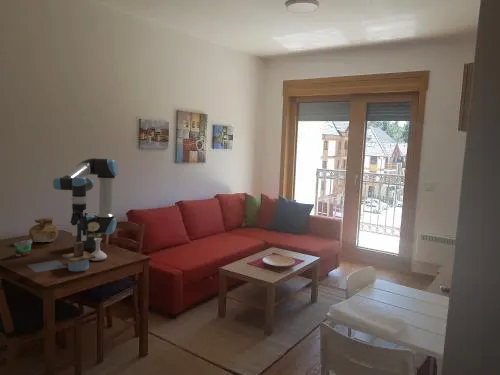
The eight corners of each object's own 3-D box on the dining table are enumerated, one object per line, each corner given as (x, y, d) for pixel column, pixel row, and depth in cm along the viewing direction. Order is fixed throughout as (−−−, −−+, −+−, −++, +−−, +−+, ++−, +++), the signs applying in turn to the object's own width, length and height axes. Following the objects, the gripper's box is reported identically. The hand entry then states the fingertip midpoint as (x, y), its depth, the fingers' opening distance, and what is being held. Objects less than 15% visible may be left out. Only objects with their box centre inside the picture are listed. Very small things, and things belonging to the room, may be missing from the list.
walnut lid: (85, 253, 234) (85, 238, 233) (95, 258, 225) (95, 243, 224) (62, 256, 224) (62, 241, 223) (71, 262, 215) (71, 246, 214)
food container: (22, 258, 239) (22, 243, 238) (14, 257, 240) (13, 242, 239) (36, 253, 251) (36, 238, 250) (28, 252, 252) (28, 238, 251)
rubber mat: (56, 260, 238) (56, 260, 238) (66, 267, 226) (66, 266, 226) (26, 265, 226) (26, 265, 226) (35, 273, 214) (35, 272, 214)
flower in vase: (108, 257, 252) (109, 220, 249) (105, 262, 241) (105, 223, 238) (88, 256, 249) (88, 220, 247) (83, 262, 238) (83, 223, 236)
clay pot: (20, 238, 274) (30, 212, 278) (43, 243, 289) (52, 218, 294) (36, 242, 265) (46, 215, 269) (58, 247, 280) (68, 222, 285)
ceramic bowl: (84, 264, 233) (84, 254, 232) (91, 269, 225) (91, 258, 225) (65, 268, 225) (65, 257, 224) (72, 273, 217) (72, 261, 217)
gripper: (64, 200, 227) (64, 234, 230) (81, 207, 210) (81, 243, 212) (77, 199, 232) (77, 232, 235) (94, 205, 215) (94, 241, 218)
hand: (79, 238), depth 224 cm, fingers open, 13 cm apart
